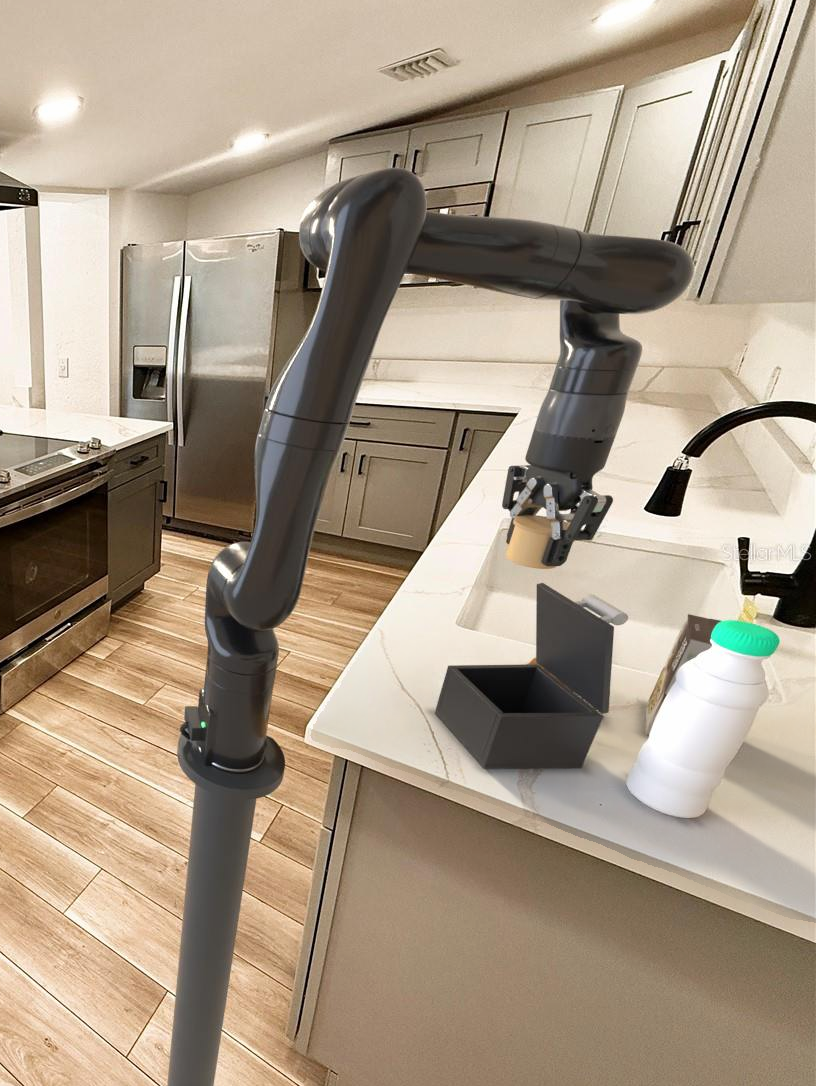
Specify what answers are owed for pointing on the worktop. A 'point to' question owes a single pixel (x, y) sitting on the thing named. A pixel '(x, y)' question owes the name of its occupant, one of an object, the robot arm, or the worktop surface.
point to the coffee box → (680, 660)
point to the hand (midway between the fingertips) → (532, 554)
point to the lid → (577, 643)
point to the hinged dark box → (516, 716)
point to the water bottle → (703, 721)
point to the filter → (530, 541)
